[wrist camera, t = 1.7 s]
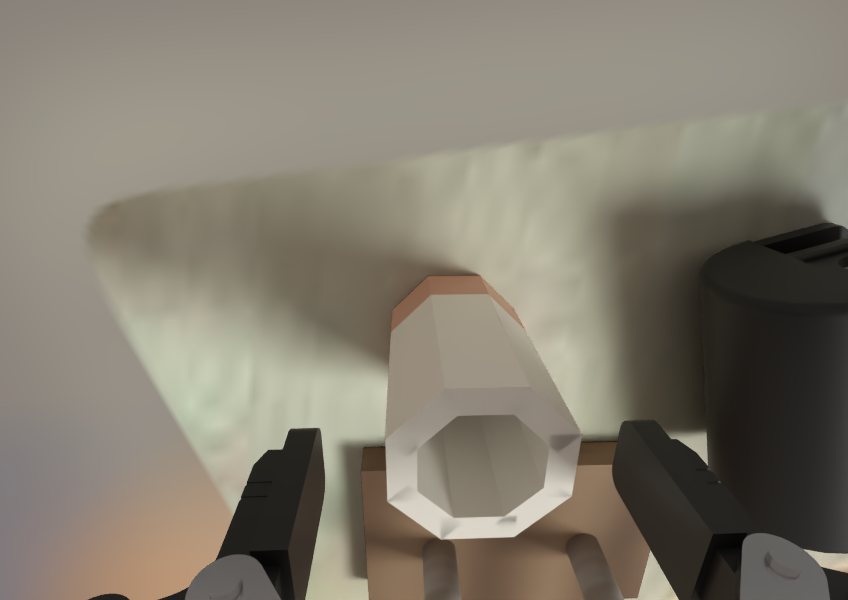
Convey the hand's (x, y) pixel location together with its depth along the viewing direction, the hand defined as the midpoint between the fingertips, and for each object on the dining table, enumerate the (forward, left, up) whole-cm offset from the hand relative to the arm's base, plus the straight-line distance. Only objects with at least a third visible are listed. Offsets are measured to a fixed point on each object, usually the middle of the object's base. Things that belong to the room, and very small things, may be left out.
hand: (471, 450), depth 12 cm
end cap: (-13, +1, -8) cm, 16 cm away
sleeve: (0, 0, -8) cm, 8 cm away
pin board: (-3, +11, -8) cm, 14 cm away
